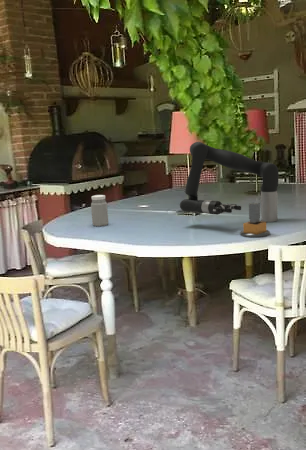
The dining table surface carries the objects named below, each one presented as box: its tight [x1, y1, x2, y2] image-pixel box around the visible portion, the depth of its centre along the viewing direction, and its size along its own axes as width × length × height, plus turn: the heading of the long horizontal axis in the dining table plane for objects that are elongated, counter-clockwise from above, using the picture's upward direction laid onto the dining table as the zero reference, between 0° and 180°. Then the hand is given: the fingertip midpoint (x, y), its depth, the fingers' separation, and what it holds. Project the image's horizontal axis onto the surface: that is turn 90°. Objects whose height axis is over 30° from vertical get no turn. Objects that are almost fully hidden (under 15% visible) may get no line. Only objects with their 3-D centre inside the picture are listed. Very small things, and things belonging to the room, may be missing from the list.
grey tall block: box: [248, 202, 261, 224], centre depth 273 cm, size 4×4×15 cm
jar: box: [90, 194, 109, 227], centre depth 323 cm, size 10×10×18 cm
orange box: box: [240, 220, 271, 239], centre depth 274 cm, size 15×15×6 cm
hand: (236, 209), depth 280 cm, fingers open, 8 cm apart
